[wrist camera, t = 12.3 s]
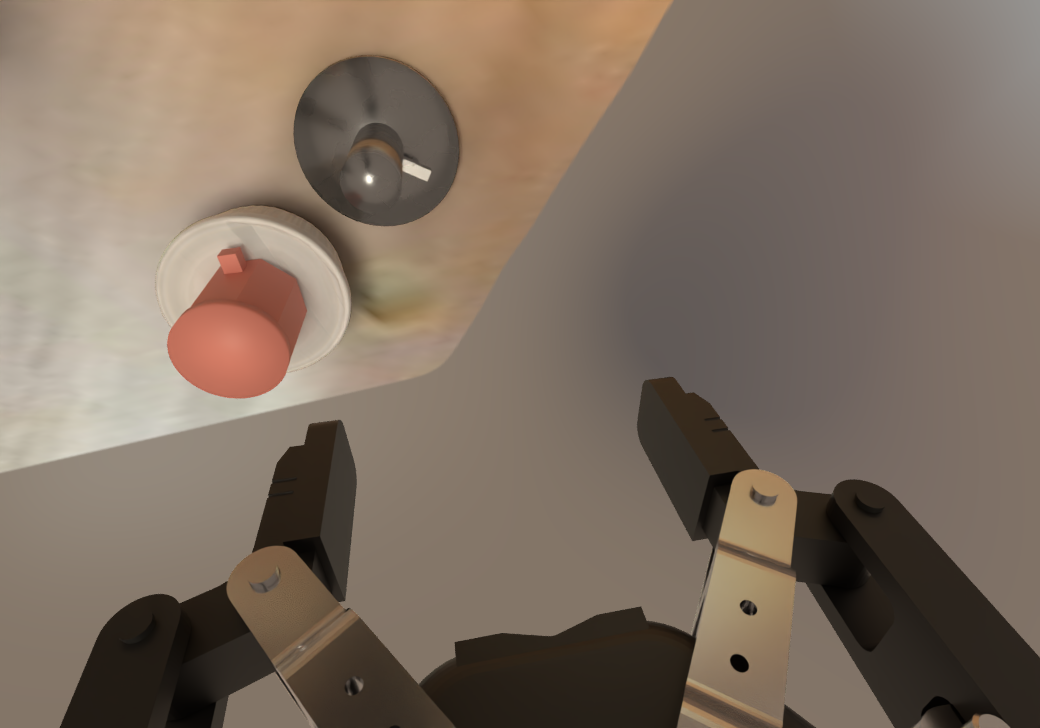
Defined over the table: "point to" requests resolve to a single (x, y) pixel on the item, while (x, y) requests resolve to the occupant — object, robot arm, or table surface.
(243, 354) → the cap
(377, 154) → the grey lamp
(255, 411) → the table surface
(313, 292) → the ramekin
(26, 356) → the table surface
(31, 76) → the table surface
